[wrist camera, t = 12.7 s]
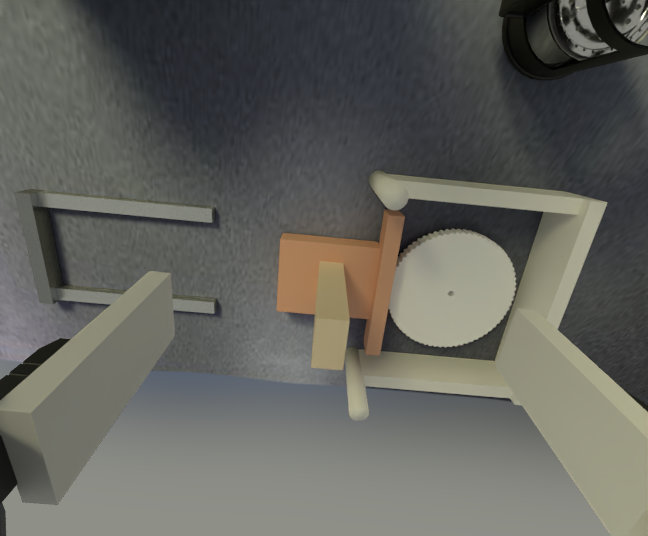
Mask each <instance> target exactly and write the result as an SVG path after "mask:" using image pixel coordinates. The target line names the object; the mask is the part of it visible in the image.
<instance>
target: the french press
mask: <svg viewBox="0 0 648 536" xmlns="http://www.w3.org/2000/svg"><path fill="white" fill-rule="evenodd" d="M546 5H547V21H548V25H549V30H550V32H551V35H552V37H553V40H554V41H555V43H556V44H557V46H558V47H559V48H560V49H561V50H562V51H563V52H564V53H565V54H566V55H568V56H570V57H571V58H569V59H568V60H565V61H563V62H561V63H557V64H546V63H544V62H542V61H541V60H540V59H539V58H538V57H537V56H536V54H535V53H534V52H533V50H532V48H531V46H530V43H529V41H528V37H527V32H526V17H527V16H528V15H530V14H532V13H534V12H535V11H537V10H539V9H541V8H542V7H544V6H546ZM499 16H500V17H504V19H503V26H502V39H503V45H504V49H505V52H506V55H507V57H508V59H509V61H510V62H511V64H512V65H513V66H514V68H515V69H516V70H518V71H519V72H520V73H521V74H523V75H525V76H527V77H529V78H531V79H536V80H553V79H558V78H562V77H564V76H567V75H569V74H571V73H573V72H576V71H580V70H584V69H588V68H592V67H597V66H601V65H605V64H609V63H613V62H617V61H622V60H626V59H630V58H634V57H638V56H642V55H647V54H648V46H644V45H639V44H637V43H638V42H640V41H641V40H642V39H643V38H644V37H645V36H646V34H647V33H648V0H502V2H501V7H500V11H499Z"/></svg>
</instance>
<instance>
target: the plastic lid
mask: <svg viewBox="0 0 648 536" xmlns="http://www.w3.org/2000/svg"><path fill="white" fill-rule="evenodd" d="M422 237H423V238H421V239H420V238H418V239H417V241H416V242H415V241H414V242H412V245H408V248H407V249H404V250H403V251H404V252H403V253H400V254H399V255H400V256H399V257H398V258H397V264H396V269H395V275H394V280H393V286H392V291H391V297H390V302H389V308H388V309H389V312H390V314H391V317H392V318H393V321H394V322H395V323H396V326H398V327H399V329H400V330H402V332H403V333H405V334H406V336H409V337H410V338H411V339H414V341H418V342H419V343H423V344H424V345H426V344H428V345H429V346H432V345H433V346H434V347H436V346H439V347H442V346H444V347H445V348H446V347H447V346H449V347H452V346H455V347H456V346H458V345H463V344H464V343H465V344H468V342H473V340H475V339H476V340H477V339H478V338H479V337H483V335H484V334H487V333H488V331H491V330H492V328H493V327H496V324H497V323H498V324H499V323H500V320H501V319H503V318H504V317H503V316H504V315H506V314H507V313H506V312H507V310H509V309H510V308H509V306H511V305H512V303H511V301H513V300H514V298H513V296H515V293H514V291H515V290H516V288H515V285H516V282H515V280H516V277H514V276H515V275H516V274H515V272H514V270H515V269H514V267H512V265H513V264H512V263H511V262H510V258H508V257H507V256H508V255H507V254H506V253H505V251H504V250H503V249H501V247H500V246H499V245H497V244H496V243H495V242H493V241H492V240H490V239H489V238H487V237H486V236H483V235H482V234H480V233H479V234H478V233H477V232H475V231H474V232H472V231H471V230H468V231H467V230H466V229H463V230H461V229H457V230H455V229H454V228H453V229H451V230H449V229H445V231H443V230H439V232H436V231H435V232H434V233H433V234H431V233H429V234H428V235H427V236H425V235H424V236H422Z"/></svg>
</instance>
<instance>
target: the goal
mask: <svg viewBox="0 0 648 536" xmlns="http://www.w3.org/2000/svg"><path fill="white" fill-rule="evenodd" d="M369 185H370V186H371V188H372V189H373V190H374V192H375V193H376V194H377V196H378V197H379V198H380V200H381V201H382V202H383V204H384V205H385V206H386V207H387V208H388V209H390V210H399V209H402V208H403V207H404V206H405V205H406V204H407V202H408V198H410V199H420V200H430V201H441V202H451V203H461V204H471V205H481V206H492V207H502V208H512V209H522V210H533V211H543V215H542V218H541V221H540V224H539V227H538V230H537V233H536V236H535V239H534V242H533V245H532V249H531V252H530V255H529V258H528V261H527V264H526V267H525V270H524V273H523V276H522V279H521V282H520V285H519V288H518V291H517V294H516V297H515V300H514V303H513V306H512V309H511V312H510V315H509V318H508V321H507V324H506V327H505V330H504V333H503V337H502V340H501V343H500V346H499V349H498V352H497V355H496V358H495V361H490V360H478V359H467V358H455V357H444V356H432V355H421V354H409V353H398V352H387V351H380V356H377V355H366V354H365V350H364V349H358V348H356V347H349V348H348V349H346V352H345V365H346V379H347V393H348V406H349V416H350V417H351V418H352V419H353V420H355V421H362V420H365V419H366V418H367V417H368V416H369V408H368V401H367V395H366V387H365V386H370V387H381V388H393V389H405V390H417V391H428V392H440V393H452V394H464V395H476V396H487V397H499V398H510V399H511V400H512V402H513V403H514V405H521V403H520V402H519V400H518V399H517V398H516V396H515V395H514V393H513V392H512V390H511V389H510V387H509V386H508V384H507V383H506V381H505V380H504V379H503V377H502V376H501V374H500V373H499V371H498V370H497V368H496V367H495V365H496V362H497V359H498V357H499V354H500V351H501V349H502V346H503V343H504V341H505V338H506V336H507V333H508V330H509V328H510V325H511V322H512V320H513V317H514V314H515V312H516V309H517V308H518V309H528V310H536V311H537V312H538V313H540V314H541V315H542V316H543V317H544V318H545V319H546V320H547V321H548V322H549V323H551V324H552V325H553V326H554V327H555V328H556V329H557V330H558V327H559V325H560V322H561V320H562V317H563V315H564V312H565V310H566V307H567V305H568V302H569V299H570V297H571V294H572V292H573V289H574V287H575V284H576V282H577V279H578V277H579V274H580V272H581V269H582V266H583V264H584V261H585V259H586V256H587V254H588V251H589V249H590V246H591V244H592V241H593V239H594V236H595V233H596V231H597V228H598V226H599V223H600V221H601V218H602V216H603V213H604V211H605V208H606V206H607V203H608V202H604V201H600V200H597V199H593V198H589V197H585V196H581V195H577V194H573V193H569V192H565V191H556V190H546V189H536V188H526V187H516V186H506V185H496V184H486V183H476V182H465V181H455V180H445V179H435V178H425V177H415V176H405V175H395V174H386V173H385V172H383V171H380V170H378V171H374V172H373V173H372V174H371V175H370V177H369Z"/></svg>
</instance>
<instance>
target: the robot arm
mask: <svg viewBox="0 0 648 536" xmlns="http://www.w3.org/2000/svg"><path fill="white" fill-rule="evenodd" d="M174 337H175V329H174V314H173V300H172V285H171V273H163V272H154V271H149V272H148V273H147V274H146V275H145V276H143V277H142V278H141V279H140V280H139V281H138V282H136V283H135V284H134V285H133V286H132V287H131V288H130V289H128V290H127V291H126V292H125V293H124V294H123V295H121V296H120V297H119V298H118V299H117V300H116V301H115V302H113V303H112V304H111V305H110V306H109V307H108V308H106V309H105V310H104V311H103V312H102V313H101V314H100V315H98V316H97V317H96V318H95V319H94V320H93V321H91V322H90V323H89V324H88V325H87V326H86V327H85V328H83V329H82V330H81V331H80V332H79V333H78V334H76V335H75V336H74V337H73V338H72V339H62V338H60V339H58V340H56V341H54V342H52V343H50V344H48V345H46V346H44V347H42V348H40V349H38V350H37V351H36V352H35V353H33V354H32V355H31V356H30V357H28V358H27V359H26V360H25V361H23V364H20V365H18V366H17V367H16V368H15V369H14V370H12V371H11V372H10V374H9V375H6V376H5V377H3V378H2V379H1V380H0V536H6V518H5V509H4V507H3V504H2V501H3V500H4V499H5V498H6V497H7V496H8V494H9V493H10V492H11V491H12V489H13V488H14V487H15V486H16V485H17V487H18V490H19V493H20V496H21V499H22V502H25V503H39V504H52V505H58V504H59V502H60V501H61V499H62V498H63V497H64V495H65V494H66V492H67V491H68V489H69V488H70V486H71V485H72V484H73V482H74V481H75V479H76V478H77V476H78V475H79V473H80V472H81V471H82V469H83V468H84V466H85V465H86V463H87V462H88V460H89V459H90V458H91V456H92V455H93V453H94V452H95V450H96V449H97V448H98V446H99V444H100V443H101V442H102V440H103V439H104V437H105V436H106V435H107V433H108V432H109V430H110V429H111V427H112V426H113V424H114V423H115V422H116V420H117V419H118V417H119V416H120V414H121V413H122V411H123V410H124V409H125V407H126V406H127V404H128V403H129V401H130V400H131V398H132V397H133V395H134V394H135V393H136V391H137V390H138V388H139V387H140V386H141V384H142V383H143V381H144V380H145V378H146V377H147V375H148V374H149V373H150V371H151V370H152V368H153V367H154V365H155V364H156V362H157V361H158V360H159V358H160V357H161V355H162V354H163V352H164V351H165V349H166V348H167V347H168V345H169V344H170V342H171V341H172V339H173V338H174ZM495 367H496V368H497V370H498V371H499V373H500V374H501V376H502V377H503V379H504V380H505V381H506V383H507V384H508V386H509V387H510V389H511V390H512V392H513V393H514V395H515V396H516V398H517V399H518V400H519V402H520V403H521V405H522V406H523V408H524V409H525V411H526V412H527V414H528V415H529V417H530V418H531V419H532V421H533V422H534V424H535V425H536V427H537V428H538V430H539V431H540V432H541V434H542V436H543V437H544V439H545V440H546V441H547V443H548V444H549V446H550V447H551V449H552V450H553V452H554V453H555V455H556V456H557V458H558V459H559V460H560V462H561V463H562V465H563V466H564V468H565V469H566V471H567V472H568V474H569V475H570V477H571V478H572V479H573V481H574V482H575V484H576V485H577V487H578V488H579V490H580V491H581V493H582V494H583V496H584V497H585V498H586V500H587V501H588V503H589V504H590V506H591V507H592V509H593V510H594V512H595V513H596V515H597V516H598V517H599V519H600V520H601V522H602V523H603V525H604V526H605V528H606V529H607V531H608V532H609V534H610V535H611V536H648V406H647V405H646V404H645V403H643V402H642V401H640V400H639V399H637V398H636V397H634V396H632V395H631V394H629V393H628V392H626V391H625V390H623V389H622V388H621V387H620V386H619V385H617V384H616V383H615V382H614V381H613V380H612V379H611V378H610V377H609V376H608V375H606V374H605V373H604V372H603V371H602V370H601V369H600V368H599V367H598V366H597V365H596V364H594V363H593V362H592V361H591V360H590V359H589V358H588V357H587V356H586V355H585V354H583V353H582V352H581V351H580V350H579V349H578V348H577V347H576V346H575V345H574V344H572V343H571V342H570V341H569V340H568V339H567V338H566V337H565V336H564V335H563V334H562V333H560V332H559V331H558V330H557V329H556V328H555V327H554V326H553V325H552V324H551V323H549V322H548V321H547V320H546V319H545V318H544V317H543V316H542V315H541V314H540V313H538V312H537V311H536V310H528V309H518V308H517V309H516V312H515V314H514V317H513V320H512V322H511V325H510V328H509V330H508V333H507V336H506V338H505V341H504V343H503V346H502V349H501V351H500V354H499V357H498V359H497V362H496V365H495Z"/></svg>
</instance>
